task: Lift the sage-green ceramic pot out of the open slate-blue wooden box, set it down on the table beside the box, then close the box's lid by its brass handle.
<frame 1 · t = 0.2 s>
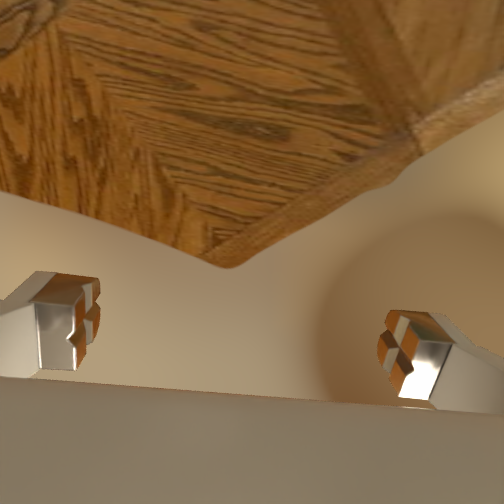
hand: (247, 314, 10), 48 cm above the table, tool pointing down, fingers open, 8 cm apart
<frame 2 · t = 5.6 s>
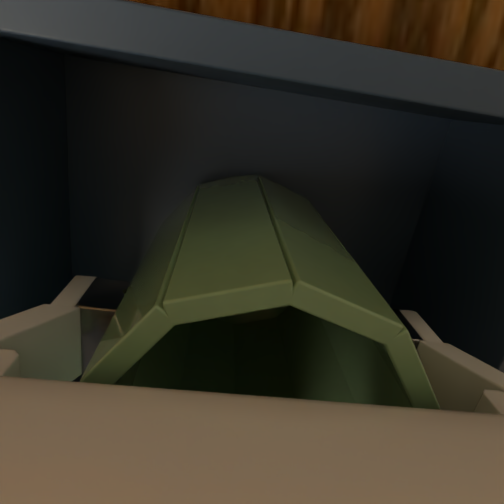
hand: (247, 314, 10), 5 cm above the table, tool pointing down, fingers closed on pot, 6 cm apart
pot: (242, 254, 15), point 1 cm above the table, touching box, gripper
box: (242, 246, 15), on the table
when the fingers open (4 cm above the table, at t = 13.0 s): pot stays where it is, on the table.
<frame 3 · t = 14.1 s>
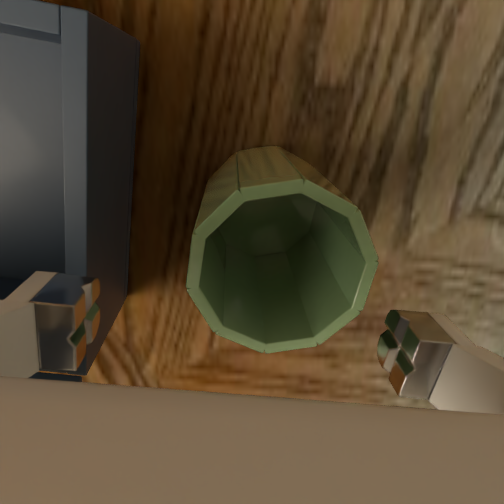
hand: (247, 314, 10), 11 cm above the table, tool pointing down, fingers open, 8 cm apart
pot: (262, 205, 20), on the table
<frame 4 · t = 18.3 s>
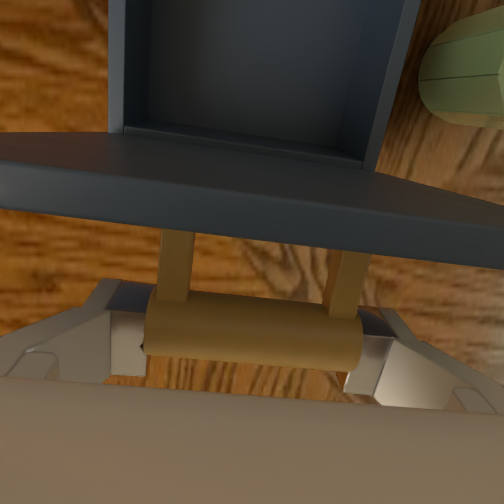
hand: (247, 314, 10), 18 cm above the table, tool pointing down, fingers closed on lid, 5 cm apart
lid: (248, 224, 14), point 15 cm above the table, hinge at 85.1°, touching gripper
pot: (462, 72, 25), on the table
box: (256, 35, 24), on the table
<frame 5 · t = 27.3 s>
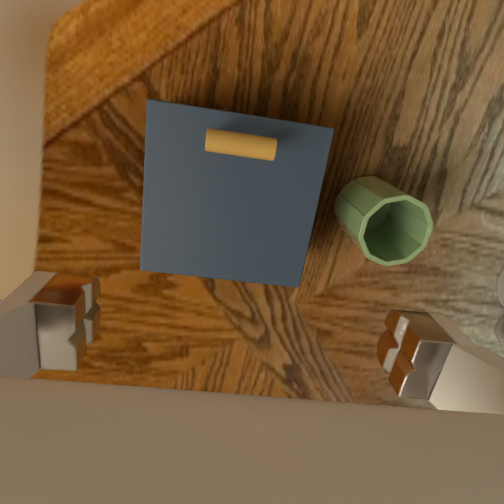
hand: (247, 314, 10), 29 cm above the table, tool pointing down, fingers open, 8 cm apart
lid: (231, 208, 30), point 9 cm above the table, hinge at -0.2°
pot: (363, 205, 40), on the table
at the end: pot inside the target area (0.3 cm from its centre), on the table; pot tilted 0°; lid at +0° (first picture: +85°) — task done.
